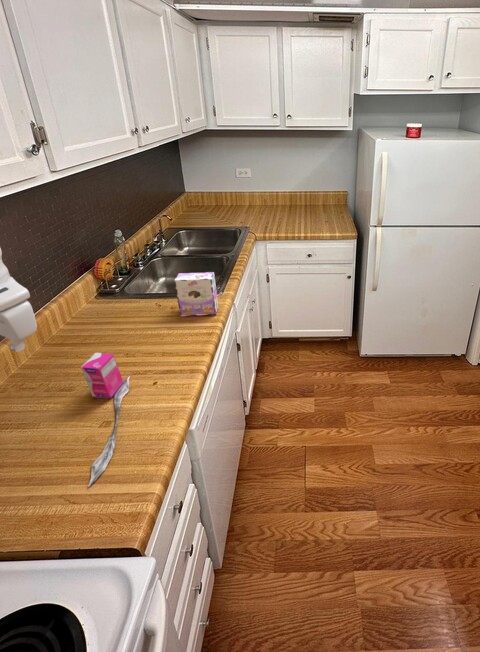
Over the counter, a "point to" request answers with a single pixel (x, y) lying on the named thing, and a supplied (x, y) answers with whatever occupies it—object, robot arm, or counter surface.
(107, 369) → the supplement box
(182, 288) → the candy box
